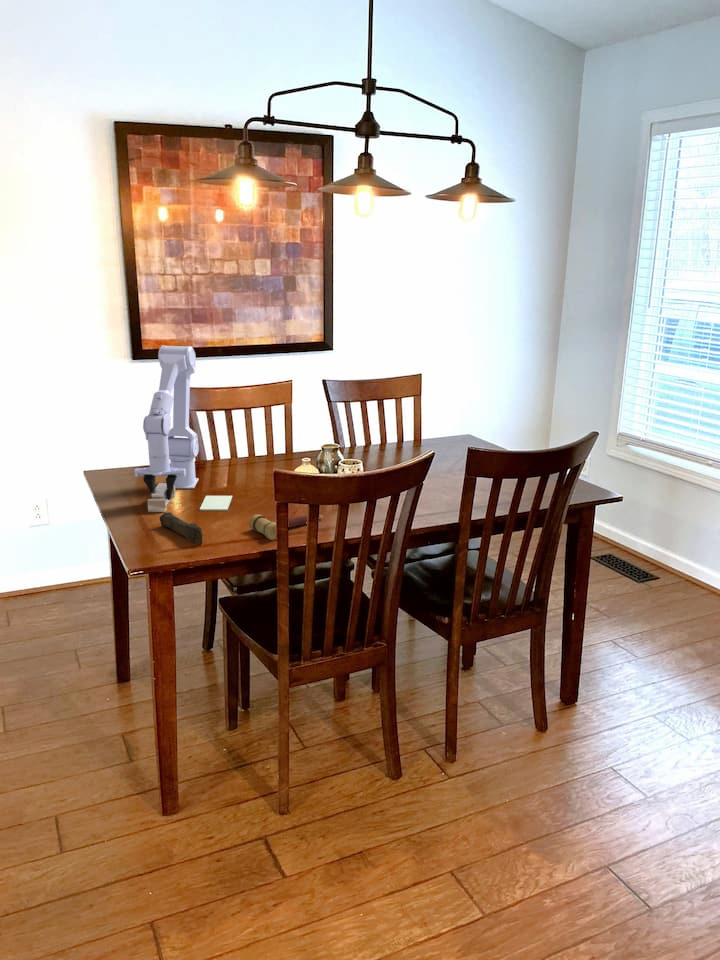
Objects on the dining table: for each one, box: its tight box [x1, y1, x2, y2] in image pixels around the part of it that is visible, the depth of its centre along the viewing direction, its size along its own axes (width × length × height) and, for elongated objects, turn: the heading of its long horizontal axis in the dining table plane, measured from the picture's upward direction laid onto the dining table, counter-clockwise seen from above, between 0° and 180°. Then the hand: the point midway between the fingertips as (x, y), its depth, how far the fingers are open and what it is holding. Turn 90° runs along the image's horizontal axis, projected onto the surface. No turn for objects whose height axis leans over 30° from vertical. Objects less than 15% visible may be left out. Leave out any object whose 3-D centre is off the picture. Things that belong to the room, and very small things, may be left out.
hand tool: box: [159, 511, 204, 545], centre depth 207 cm, size 19×4×5 cm, turn 39°
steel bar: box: [150, 482, 173, 506], centre depth 230 cm, size 10×4×5 cm, turn 2°
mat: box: [199, 495, 233, 511], centre depth 231 cm, size 12×8×1 cm, turn 2°
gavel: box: [248, 513, 324, 541], centre depth 214 cm, size 21×5×10 cm
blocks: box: [146, 485, 177, 513], centre depth 232 cm, size 17×5×4 cm, turn 2°
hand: (162, 498), depth 231 cm, fingers open, 4 cm apart
